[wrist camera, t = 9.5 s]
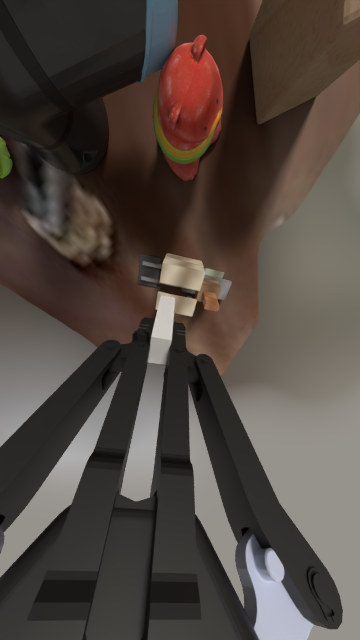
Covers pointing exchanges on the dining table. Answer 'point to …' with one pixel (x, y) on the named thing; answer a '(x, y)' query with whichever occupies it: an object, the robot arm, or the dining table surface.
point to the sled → (211, 292)
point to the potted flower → (4, 160)
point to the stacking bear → (188, 107)
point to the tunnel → (175, 278)
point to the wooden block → (300, 50)
